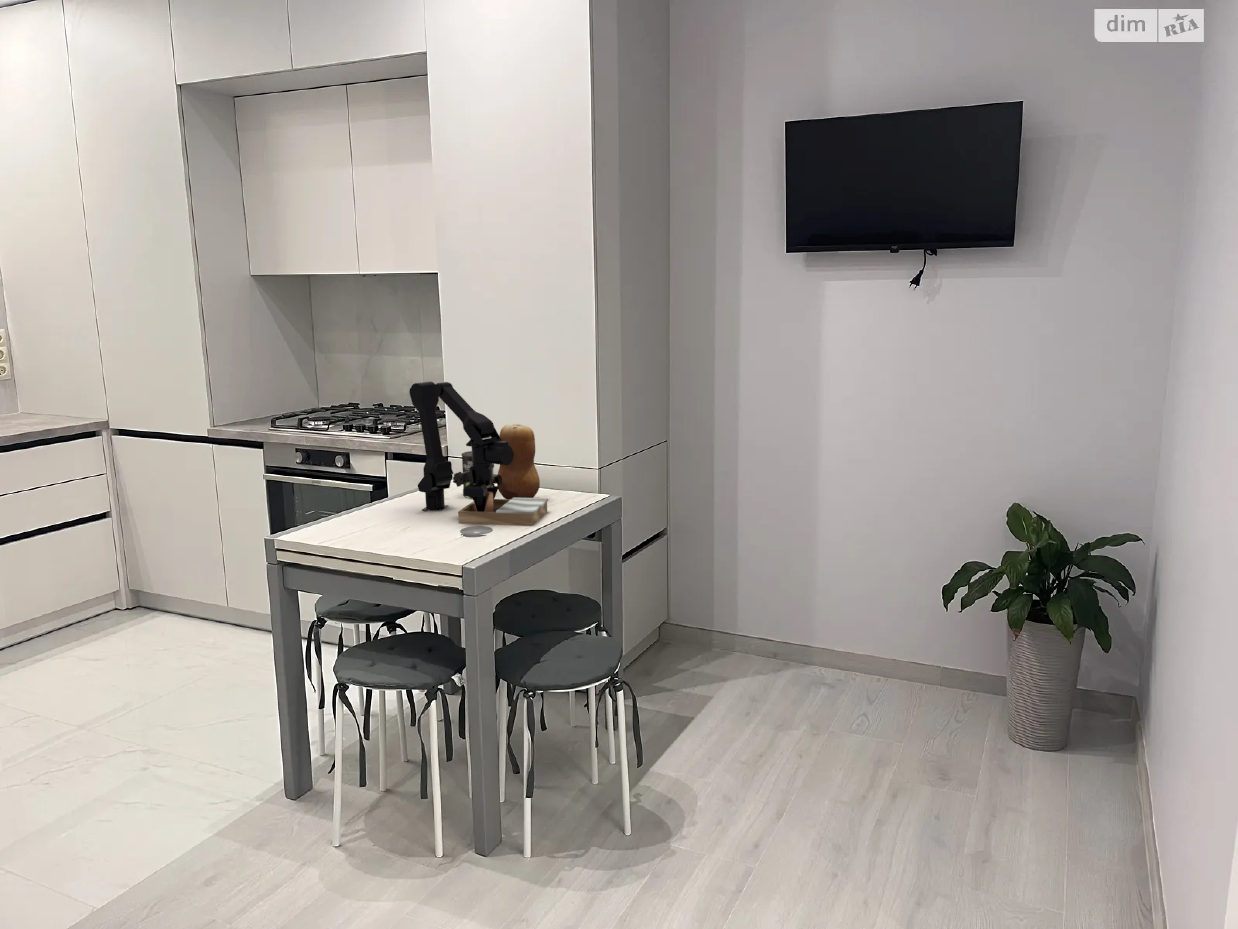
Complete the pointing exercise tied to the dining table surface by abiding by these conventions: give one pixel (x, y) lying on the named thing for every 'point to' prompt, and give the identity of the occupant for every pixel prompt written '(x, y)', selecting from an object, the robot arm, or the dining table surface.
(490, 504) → the tan cylinder
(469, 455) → the coffee can
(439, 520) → the dining table surface
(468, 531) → the saucer
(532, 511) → the box
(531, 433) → the butternut squash
